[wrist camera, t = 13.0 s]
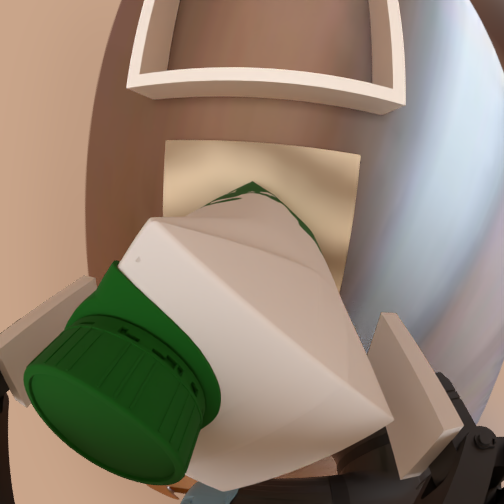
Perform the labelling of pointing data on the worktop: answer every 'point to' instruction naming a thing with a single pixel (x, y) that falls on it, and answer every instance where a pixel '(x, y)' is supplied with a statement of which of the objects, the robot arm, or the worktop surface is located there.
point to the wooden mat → (269, 185)
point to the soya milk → (211, 353)
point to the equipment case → (270, 80)
